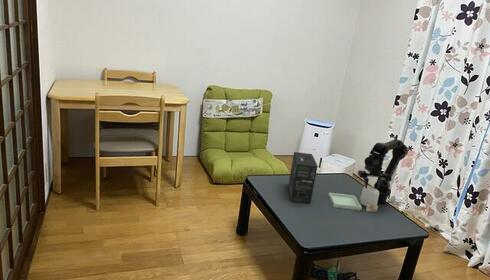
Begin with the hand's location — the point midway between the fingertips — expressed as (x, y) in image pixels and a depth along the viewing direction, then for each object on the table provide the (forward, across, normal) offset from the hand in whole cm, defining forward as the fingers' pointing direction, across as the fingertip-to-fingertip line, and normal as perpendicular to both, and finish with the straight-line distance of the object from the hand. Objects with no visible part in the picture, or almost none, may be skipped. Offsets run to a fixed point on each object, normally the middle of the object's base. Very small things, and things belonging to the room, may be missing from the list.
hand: (371, 189), depth 225 cm
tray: (+11, +14, 0) cm, 18 cm away
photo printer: (+12, 0, 0) cm, 12 cm away
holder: (+11, 0, 0) cm, 11 cm away
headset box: (+12, +42, -5) cm, 43 cm away
